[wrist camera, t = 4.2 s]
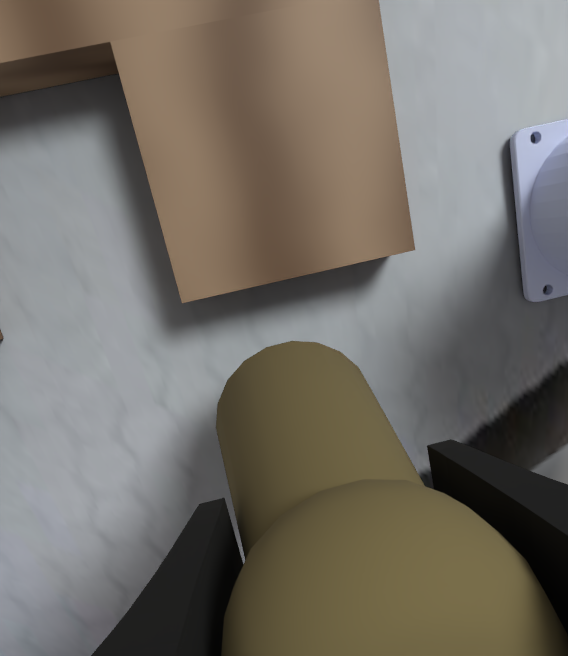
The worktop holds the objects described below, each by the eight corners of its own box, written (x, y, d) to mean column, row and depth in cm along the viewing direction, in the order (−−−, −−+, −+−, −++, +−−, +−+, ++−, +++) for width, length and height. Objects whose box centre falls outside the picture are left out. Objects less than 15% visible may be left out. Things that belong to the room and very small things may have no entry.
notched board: (347, -42, 17) (365, -91, 14) (393, 249, 19) (415, 249, 17) (-208, 63, 16) (-291, 29, 13) (-82, 357, 18) (-132, 375, 16)
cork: (343, 315, 15) (621, 475, 4) (394, 454, 16) (708, 847, 6) (188, 379, 15) (69, 723, 4) (253, 516, 16) (295, 1053, 5)
